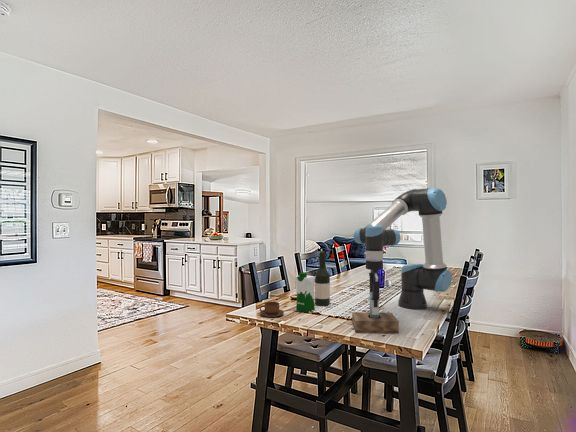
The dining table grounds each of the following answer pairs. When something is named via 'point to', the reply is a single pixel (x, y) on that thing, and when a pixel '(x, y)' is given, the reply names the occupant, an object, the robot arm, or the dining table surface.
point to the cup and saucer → (271, 310)
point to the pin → (371, 308)
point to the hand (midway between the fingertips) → (374, 312)
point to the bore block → (375, 323)
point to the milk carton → (305, 292)
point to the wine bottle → (322, 283)
